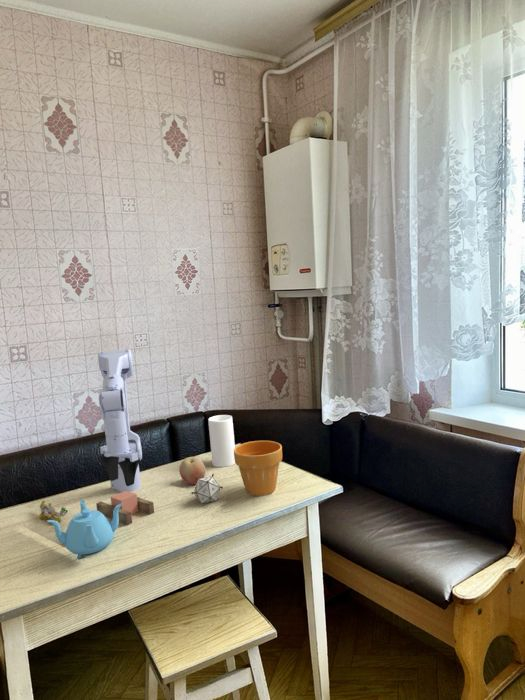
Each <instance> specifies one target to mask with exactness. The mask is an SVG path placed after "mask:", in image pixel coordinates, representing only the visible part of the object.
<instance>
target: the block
mask: <svg viewBox="0 0 525 700" xmlns="http://www.w3.org/2000/svg"><path fill="white" fill-rule="evenodd" d="M137 497H138V495H137V493H134V492H132V491H131V492H128V491H124V492H119V493H117V494H114V495H112V496H110V503H111V504H110V505H112V506H115V507H116V506H117V505H119V504H121V503H123V504H122V505H121V507H120V509H123V510H126V511H128V512H131V516H132V515H135V514H136V513H138V512H140V511H139V510H138V502H137Z"/></svg>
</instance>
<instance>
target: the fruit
mask: <svg viewBox="0 0 525 700" xmlns="http://www.w3.org/2000/svg"><path fill="white" fill-rule="evenodd" d="M205 475H206V466H205V464H204V463H203V461H202V460H201V459H200V458H198V457H195V456H189V457H185V458H184V459H183V460H182V461H181V463H180V465H179V476H180V478H181V479H182V480H183V481H184V482H185V483H186V484H188V485H196V482H197V479H196V477H197V478H198V479H200V478H205Z"/></svg>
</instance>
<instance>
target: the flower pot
mask: <svg viewBox="0 0 525 700" xmlns="http://www.w3.org/2000/svg"><path fill="white" fill-rule="evenodd" d="M234 459H235V465H237V466H238V469H239V473H240V476H241V480H242V483H243V486H244V489H245V492H246V493H247V494H248V495H250V496H257V497H259V496H267V495H269V494H272V493H275V491H276V488H277V487H276V486H277V484H278V483H277V481H278V475H279V468H280V463H281V462H282V461H283V446H282V444H281V443H279V442H276V441H272V440H254V441H248V442H247V441H246V442H243V443H240V444H238V445H237V446H235V449H234Z"/></svg>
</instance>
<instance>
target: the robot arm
mask: <svg viewBox="0 0 525 700" xmlns="http://www.w3.org/2000/svg"><path fill="white" fill-rule="evenodd" d="M97 362H98V369H99V370H100V373H101V376H102V379H103V381H102V389H101V391H102V392H101V393H99V395H98V404H99V410H100V412H101V419H102V421H103V426H104V434H105V443H106V444H105V445H103V446H100V447H99V448H100V449H99V450H100V454H101V455H102V456H99V459H98V460H99V461H100V463H102V465H103V466H104V469H105V471H106V473H107V475H108V478H109V481H110V482H109V483H110V488H111V489H114V490H117V492H119V493H121V492H124V491H128V492H131V493H132V492H134V491H137V490H139V489H140V488H141V487H142V481H141V475H140V462H141V460H142V459H143V450H142V444H141V438H140V436H139V434H137V433H136V432H133V431H132V430H131V426H130V425H131V424H130V414H129V403H128V389H127V383H128V379H129V378H131V377H132V376H133V373H134V369H133V368H134V367H133V365H134V364H133V355H132V350H131V349H130V348H126V349H118V350H108V351H99V352H98V355H97Z"/></svg>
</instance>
